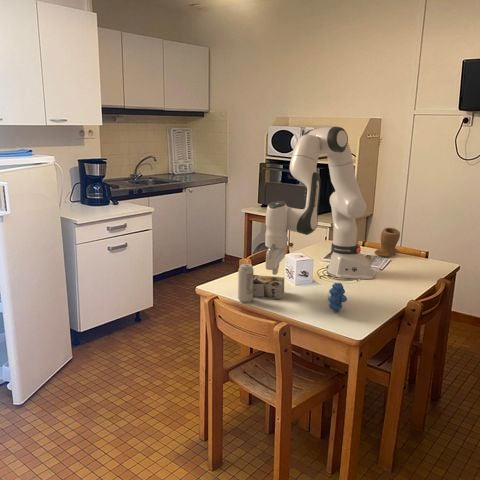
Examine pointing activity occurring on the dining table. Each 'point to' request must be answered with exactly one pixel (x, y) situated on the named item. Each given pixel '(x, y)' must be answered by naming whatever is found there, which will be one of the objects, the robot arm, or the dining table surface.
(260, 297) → the mat
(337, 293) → the grapes
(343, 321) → the dining table surface
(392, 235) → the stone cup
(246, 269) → the energy drink can
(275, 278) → the coffee box
